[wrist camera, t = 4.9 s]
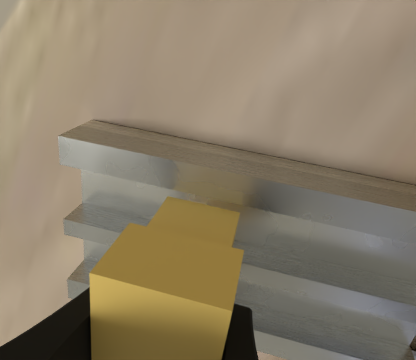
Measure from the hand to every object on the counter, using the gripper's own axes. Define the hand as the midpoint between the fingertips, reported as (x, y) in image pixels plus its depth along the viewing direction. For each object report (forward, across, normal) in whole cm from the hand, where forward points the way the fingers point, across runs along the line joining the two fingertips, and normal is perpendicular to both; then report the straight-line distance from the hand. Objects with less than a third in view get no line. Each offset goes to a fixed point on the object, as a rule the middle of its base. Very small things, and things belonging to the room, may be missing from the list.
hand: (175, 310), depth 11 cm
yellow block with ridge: (+3, 0, 0) cm, 3 cm away
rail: (+5, -2, 0) cm, 6 cm away
